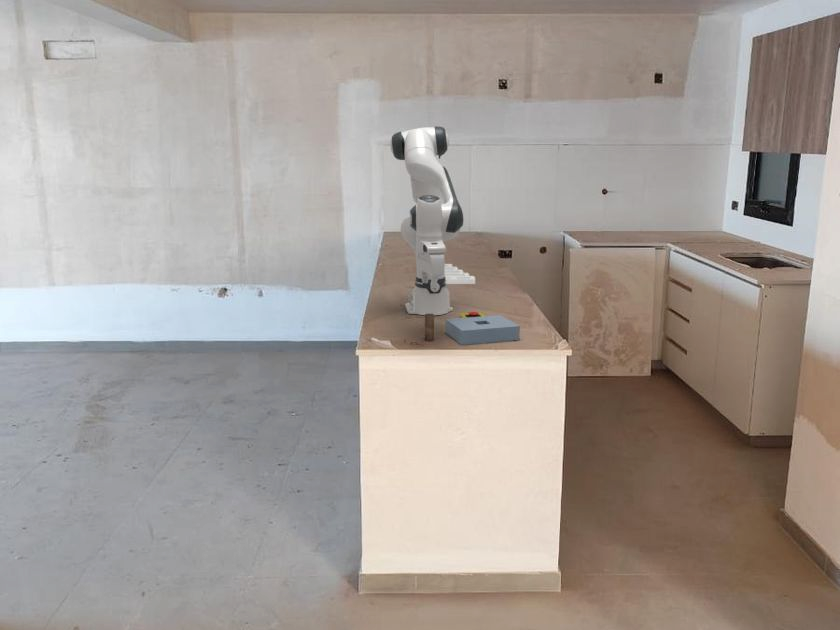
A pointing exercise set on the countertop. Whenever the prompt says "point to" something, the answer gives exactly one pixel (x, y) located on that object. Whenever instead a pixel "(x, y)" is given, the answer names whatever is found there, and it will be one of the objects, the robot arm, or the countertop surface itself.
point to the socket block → (482, 329)
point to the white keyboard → (457, 276)
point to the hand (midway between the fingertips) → (429, 285)
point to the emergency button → (471, 315)
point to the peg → (429, 327)
